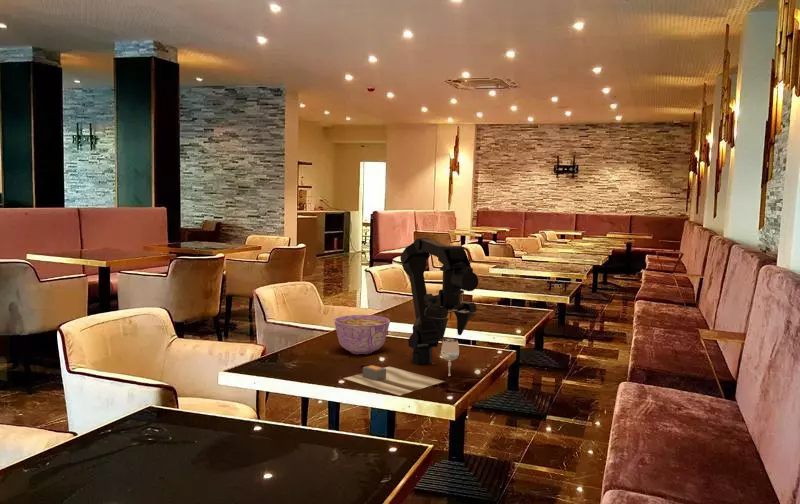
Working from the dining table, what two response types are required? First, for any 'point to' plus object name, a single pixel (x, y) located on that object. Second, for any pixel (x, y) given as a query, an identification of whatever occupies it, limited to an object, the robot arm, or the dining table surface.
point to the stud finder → (374, 372)
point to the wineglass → (449, 350)
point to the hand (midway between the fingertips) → (450, 337)
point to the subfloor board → (397, 381)
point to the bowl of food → (361, 332)
